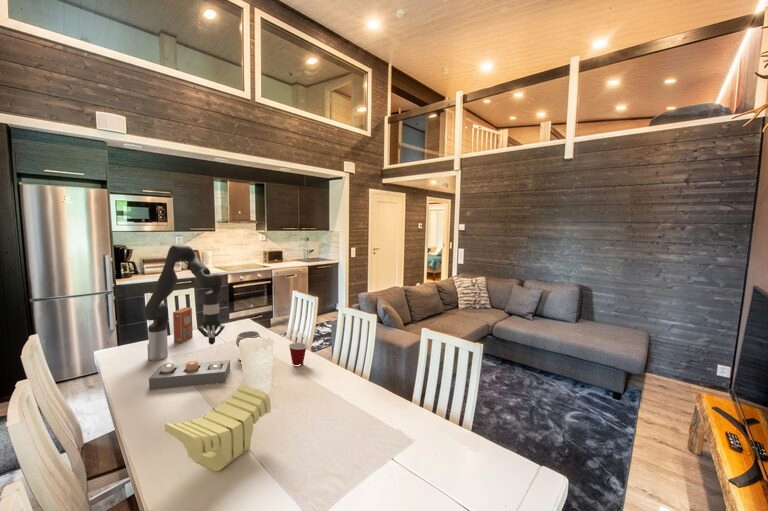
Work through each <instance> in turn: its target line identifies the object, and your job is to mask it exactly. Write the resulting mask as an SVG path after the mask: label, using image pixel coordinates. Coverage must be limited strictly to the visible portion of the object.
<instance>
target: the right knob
mask: <svg viewBox="0 0 768 511" xmlns="http://www.w3.org/2000/svg"><path fill="white" fill-rule="evenodd" d="M214 369H221V364H213V365H210V366H209V370H214Z"/></svg>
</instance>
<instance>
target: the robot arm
mask: <svg viewBox="0 0 768 511" xmlns="http://www.w3.org/2000/svg"><path fill="white" fill-rule="evenodd" d="M177 262H182V263H186V262H187V263H189V264H190V265H189V271H190V272H191V274H192V275H194V277H195V278H196V279H197V281H198V285H199V287H201V288H203V289H210V290H209V291H206V292H205V293H203V307H202V316H203V318H202V319H203V320H202V321H203V322H202V325H201V326H199V327H198V328H197V330H198V332H200V333H201V334H202V336H203V337H205V338H208V344H210V345H214V344H215V343H216V337H219V335H220V334H221V333H222V331H224V329H225V328H226V326H225V325H223V324H221V321H220V319H221V318H220V302H219V300H220V299H219V298H220V297H219V296H220V293H221V292H220V291H221V289H222V284H223V278H222V276H221V275H220V273H211V271H210V269H209V268H208V267H207V266H206V265H205V264H203V263H202V261H201V260H200V259H199V256H197V254H196V252H195V251H194V250H193V248H192V247H191V246H190V245H182V244H181V245H180V244H178V245H177V244H173V245H171V246H170V247H169V249H168V252H167V255H166V259H165V261H164V265H163V268H162V271H161V273H160V275H159V278H158V279H157V282H156V285H155V288H154V290H153V292H152V293H151V296H150V298H149V299H148V302H147V303H146V305H145V307H144V309H143V317H144V319H145V320H146V321H154V322H152V323H151V324H149V325H148V327H147V334H148V336H147V337H148V343H147V360H148V361H161V360H165V359H166V358H168V356H169V350H168V347H169V345H168V323H169V309H168V305H167V304H166V303H165V302H163V301H164V300H166V299H167V298H168V297H169V296H170V295H171V294H172V293H173V292H174V290H175V288H176V287H177V284H178V276H177V273H176V272H175V265H176V263H177ZM217 330H218V331H217ZM216 331H217V332H216Z"/></svg>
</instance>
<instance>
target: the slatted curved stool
mask: <svg viewBox="0 0 768 511" xmlns="http://www.w3.org/2000/svg"><path fill="white" fill-rule="evenodd" d="M213 410H214V411H212V410H211V411H210V412H208V413H205V415H202V417H201V416H200V417H197V418H195V419H191V420H190V421H183V422H175V423H167V422H165V423H164V432H165V433H166V434H169V435H170V436H173V437H174V438H175V439H177V440H178V441H179V442H180V443H181V444H182V445H183V446H184V448H185V449H186V453H187V457H188V458H190V459H191V460H193V461H195V462H198V463H200V464H202V465H203V466H205V467H208V469H209V468H210V469H211V470H213V471H214V472H215V471H216V472H217V471H220V470H222V469H224V468H225V467H226V466H227V465H229V464H230V463H231V462H233V461H234V460H235V459H237V458H238V457H240V456H241V455H242V454H244V453H245V452H246V451H247V450H249V449H251V444H252V437H253V432H254V425H256V424H257V423H258V421H259V420H260V418H263V416H265V415H266V414H269V413H271V399H270V396H269V394H267V393H266V392H265V391H262V390H261V389H260V390H259V389H256V388H255V387H252V386H248V385H244V384H242V383H241V384H240V385H239V386H238V387H237V389H236V390H234V391H233V393H232V394H231V395H230V396H229V397H228V398H226V399H225V401H224V402H222V403H220V405H218V406H217V407H216V408H215V409H213Z"/></svg>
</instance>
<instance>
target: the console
mask: <svg viewBox="0 0 768 511" xmlns="http://www.w3.org/2000/svg"><path fill="white" fill-rule="evenodd" d="M213 364H221V369H214V370H209V366H210V365H213ZM161 366H162V365H159V367H157V369H155V371H154V372H153V373H152V374H151V376H149V377H148V390H149V391H157V390H166V389H176V388H177V389H178V388H185V387H196V386H197V387H198V386H207V384H208V385H217V384H216V383H218V384H225V383H226V382H227V380H226V379H228V377H229V375H230V372H231V360H230V359H229V360H228V359H227V360H225V359H224V360H217V361H216V360H215V361H204V362H203V361H202V362H198V371H191V372H186V363H180V364H176V363H175V364H174V367H175V372H174V373H168V374H162V370H161ZM228 374H229V375H228Z"/></svg>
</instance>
